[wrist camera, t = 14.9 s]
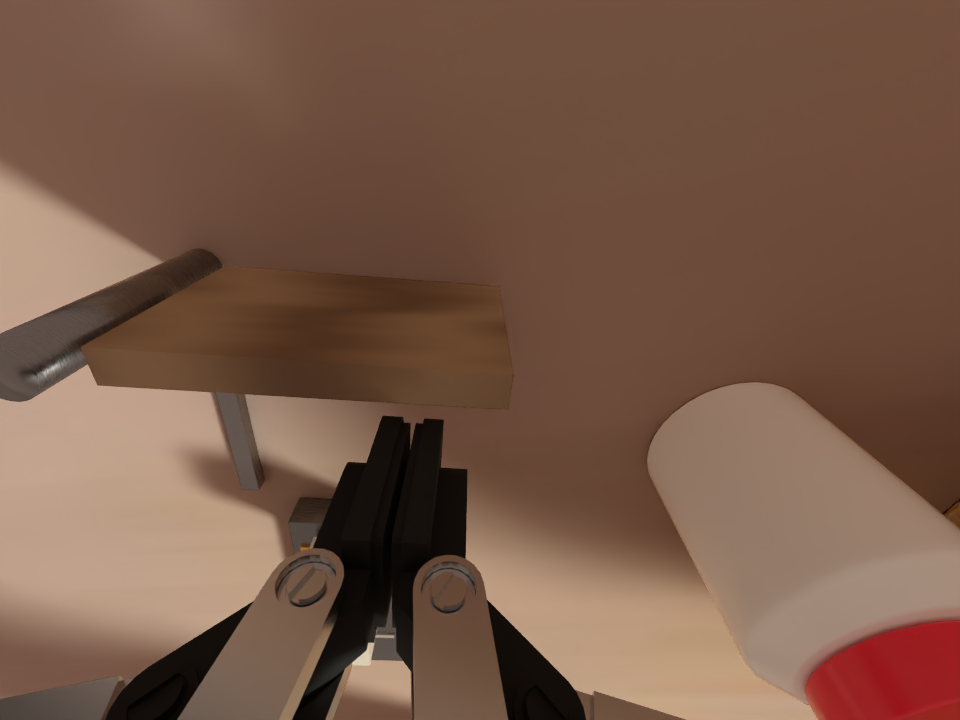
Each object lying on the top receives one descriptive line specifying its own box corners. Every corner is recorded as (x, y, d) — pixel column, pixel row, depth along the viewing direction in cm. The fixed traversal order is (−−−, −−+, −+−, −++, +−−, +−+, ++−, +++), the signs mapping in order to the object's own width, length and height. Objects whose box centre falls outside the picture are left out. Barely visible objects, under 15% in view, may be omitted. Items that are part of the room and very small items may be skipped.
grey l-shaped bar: (270, 481, 21) (176, 645, 14) (241, 479, 20) (133, 644, 14) (218, 250, 15) (20, 347, 8) (179, 247, 15) (-54, 342, 8)
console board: (413, 636, 28) (410, 663, 26) (323, 633, 28) (315, 660, 26) (416, 503, 22) (412, 530, 20) (299, 497, 21) (287, 524, 20)
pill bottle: (621, 491, 21) (743, 787, 12) (691, 366, 18) (951, 649, 8) (754, 512, 22) (966, 802, 13) (846, 398, 19) (1244, 684, 9)
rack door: (499, 286, 15) (513, 374, 9) (495, 316, 15) (507, 414, 10) (225, 265, 14) (80, 346, 9) (232, 297, 15) (100, 390, 9)
